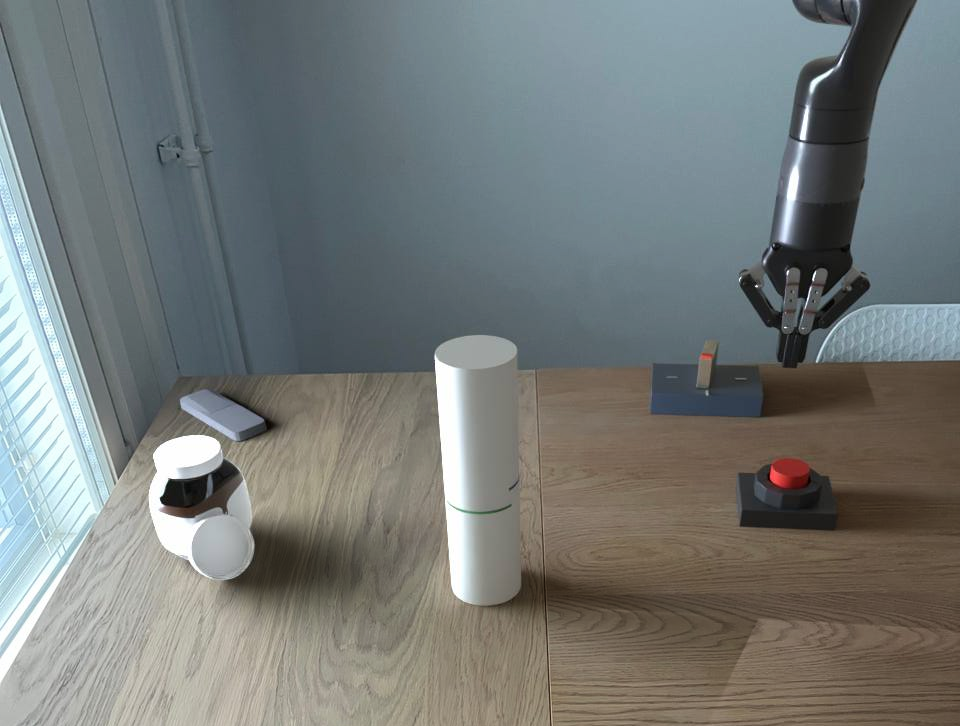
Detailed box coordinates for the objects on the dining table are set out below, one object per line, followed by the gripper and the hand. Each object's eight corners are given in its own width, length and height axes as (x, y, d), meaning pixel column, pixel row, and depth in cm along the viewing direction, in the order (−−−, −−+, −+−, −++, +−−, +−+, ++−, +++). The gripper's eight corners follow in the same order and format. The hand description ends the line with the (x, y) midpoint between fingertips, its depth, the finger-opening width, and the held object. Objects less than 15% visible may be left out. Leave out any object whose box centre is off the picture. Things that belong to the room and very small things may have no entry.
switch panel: (755, 384, 133) (758, 362, 131) (760, 419, 126) (764, 396, 124) (651, 381, 135) (652, 360, 133) (649, 416, 127) (651, 393, 125)
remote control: (270, 433, 129) (209, 395, 137) (268, 421, 128) (206, 383, 136) (238, 446, 127) (178, 407, 135) (236, 434, 126) (175, 395, 134)
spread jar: (213, 514, 113) (190, 422, 106) (293, 536, 109) (275, 443, 102) (141, 569, 105) (111, 474, 98) (224, 596, 101) (199, 499, 93)
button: (805, 472, 108) (808, 458, 107) (809, 491, 105) (812, 477, 104) (768, 471, 109) (770, 457, 108) (770, 490, 106) (773, 475, 105)
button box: (825, 492, 112) (831, 461, 109) (834, 531, 105) (841, 499, 103) (735, 488, 113) (739, 458, 110) (739, 526, 107) (743, 495, 104)
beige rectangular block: (703, 368, 131) (706, 337, 128) (715, 369, 130) (719, 338, 128) (696, 387, 126) (699, 356, 124) (708, 389, 126) (712, 357, 123)
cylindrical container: (533, 575, 101) (531, 343, 86) (499, 613, 97) (491, 375, 81) (474, 557, 104) (462, 329, 89) (438, 593, 100) (418, 359, 84)
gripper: (887, 178, 93) (850, 352, 104) (744, 176, 95) (722, 348, 106) (900, 201, 87) (859, 383, 98) (748, 199, 89) (724, 378, 100)
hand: (788, 364), depth 102 cm, fingers closed
